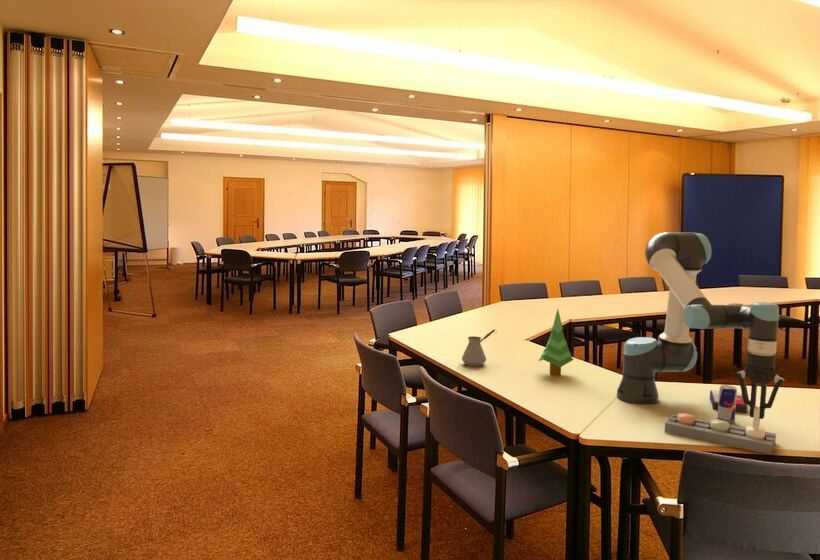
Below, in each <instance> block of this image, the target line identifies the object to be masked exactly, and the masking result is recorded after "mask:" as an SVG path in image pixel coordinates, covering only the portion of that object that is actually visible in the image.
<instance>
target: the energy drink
mask: <svg viewBox="0 0 820 560" xmlns="http://www.w3.org/2000/svg"><path fill="white" fill-rule="evenodd" d="M737 390H738V389H737V387H735V386H733V385H728V384H727V385H726V384H724V385H720V386H719V389H718V391H719V403H718V410H717V420H723V421H726V422H728V423H729V424H734V423H735V422H736V421H735V420H736V412H735V411H736V398H737V393H738V391H737Z"/></svg>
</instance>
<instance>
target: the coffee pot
mask: <svg viewBox="0 0 820 560" xmlns="http://www.w3.org/2000/svg"><path fill="white" fill-rule="evenodd" d="M497 332H498V331H497V330H496V329H495V328H494V329H492V330H491V331H490V332H489V333H487V334H486V335H485V336H484V337H483V338H482V337H480V336H468V337H467V339H468V343H467V346H466V348H465V350H464V352H463V354H462V357H461V360H462V362H463V363H464V364H465V365H466V366H468V367H482V366H483V364H485V363H486V361H487V356H486V355H485V352H484V349H483V347H482V344H481V343H482V342H483V341H484V340H486V339H488V337H490V336H491V335H492V334H494V333H495V334H497ZM481 365H482V366H481Z"/></svg>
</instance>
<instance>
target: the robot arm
mask: <svg viewBox="0 0 820 560" xmlns="http://www.w3.org/2000/svg"><path fill="white" fill-rule="evenodd" d="M711 245H712V244H711V242H710V241H709V238H708V237H707V236H706V235H705V234H703V233H699V232H693V231H692V232H691V231H690V232H689V231H687V232H685V231H684V232H681V231H680V232H676V231H675V232H670V231H669V232H668V231H665V232H660V233H658V234H654V236H653V237H651V238H650V239H649V240H648V242H647V244H646V246H645V251H644V255H645V260H646V262H647V264H648V265H649V267H650V268H651V269H652V270H653V271H656V272H658V274H659V276H660V277H661V278H662V280H663V281H664V283H665V284H666V285H667V287H668V288H669V290H668V291H669V293H668V300H667V308H666V314H665V315H666V316H665V324H664V331H663V332H662V333H660V334H659V338H658V341H657V339H656V338H653V337H650V336H649V337H647V336H645V337H644V336H640V337H639V336H637V337H633V338H628V339H627V340H626V341H625V342H624V345H623V359H622V378H621V380H620V382H619V385H618V387H617V389H616V397H617V398H618V399H619V400H621V401H624V402H626V403H627V402H628V403H633V404H638V405H651V404H652V405H653V404H656V403H658V402H659V395H660V394H659V392H658V388H657V384H656V379H655V378H656V373H665V372H667V373H668V372H669V373H673V372H674V373H680V372H688V371H690V370H691V369H693V367H695V364H696V362H697V360H698V351H697V347H696V345H695V343H694V342H693V339H692V338H691V336H690V329H698V330H704V329H705V330H707V329H709V330H710V329H711V330H713V329H742V330H745V331H748V340H747V341H748V342H747V351H748V352H747V353H746V355H747V357H746V366H745V367H744V369H743V370H741V371H738V372H736V374H735V376H736V378H737V379H738V382H739V387H740V393H741V394H742V397H743V402H744V404H747V406H749V417H750V418H753V419H752V426H753V429H757V430H758V429H759V428H760V421H761V420H763V419H764V418H765V415H766V414H765V413H766V409H771V408H772V407H773V404H774V401H775V400H776V399H775V398H776V395H777V393H778V391H779V388H780V386H781V385H782V384H784V382H785V378H784V377H781V376H779V374H777V371H776V358H777V356H776V353H777V345H778V333H779V320H780V307H779V305H778V304H776V303H774V302H765V301H754V302H752V303H751V304H750V305H746V304H743V303H733V302H732V303H728V304H712V303H711V302H710V301H709V299H707V297H706V296H705V294H704V293H703V292H702V291H701V289H700V288H699V287H698V285H697V284H696V281H697V274H699V273H700V272H701V271H703V265H706V264H707V263H708V262H709V261H710V260H711V257H712V246H711ZM746 376H747V377H748V379H749V380H750V381H751V383H750V384H751V390H750V397H749V394H748V393H749V392H748V388H747V382H746ZM773 379H774V385H773V389H772V391H771V393H770V396H769V399H768V401H767V400H766V399H767V385H768V384H769V383H770V382H771V381H772V380H773ZM758 384H760V399H759V400H760V402H759V406H758V405H756V404H757V403H756V402H757V391H758V390H757V389H758ZM766 401H767V402H766Z"/></svg>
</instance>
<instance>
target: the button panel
mask: <svg viewBox="0 0 820 560" xmlns="http://www.w3.org/2000/svg"><path fill="white" fill-rule="evenodd" d="M677 416H678V413H673V415H672V416H671V417H669V418H668V420H666V421H665V422H664V433H668V434H671V435H672V434H673V435H678V436H682V437H686V438H692V439H695V440H700V441H705V442H710V443H714V444H719V445H724V446H729V447H733V448H738V449H742V450H746V451H751V452H752V451H753V452H756V453H760V454H766V455H772V453H773V450H774V446H775V444H776V439H777V433H774V432H769V431H765V440H760V439H755V438H750V437H745V434H746V426H745V427H743V426H738V425H733V424H729V430H728V433H726V432H721V431H716V430H711V429H710V424H711V420H708V419H704V418H697V417H695V423H694V426H692V425H687V424H682V423H677Z"/></svg>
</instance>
